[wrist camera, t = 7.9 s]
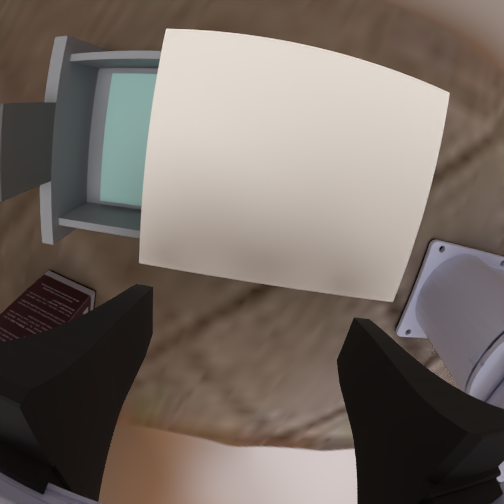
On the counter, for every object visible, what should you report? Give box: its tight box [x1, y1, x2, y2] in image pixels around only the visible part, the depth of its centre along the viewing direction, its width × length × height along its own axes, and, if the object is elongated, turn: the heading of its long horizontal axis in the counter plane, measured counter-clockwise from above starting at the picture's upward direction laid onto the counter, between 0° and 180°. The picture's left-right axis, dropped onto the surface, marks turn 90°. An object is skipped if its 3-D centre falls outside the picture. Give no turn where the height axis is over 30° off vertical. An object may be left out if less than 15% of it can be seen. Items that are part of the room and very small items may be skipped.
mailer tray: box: [0, 36, 161, 245], centre depth 14 cm, size 13×11×9 cm
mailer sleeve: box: [139, 29, 450, 302], centre depth 16 cm, size 13×11×6 cm
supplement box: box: [0, 271, 95, 342], centre depth 16 cm, size 9×5×16 cm, turn 159°
